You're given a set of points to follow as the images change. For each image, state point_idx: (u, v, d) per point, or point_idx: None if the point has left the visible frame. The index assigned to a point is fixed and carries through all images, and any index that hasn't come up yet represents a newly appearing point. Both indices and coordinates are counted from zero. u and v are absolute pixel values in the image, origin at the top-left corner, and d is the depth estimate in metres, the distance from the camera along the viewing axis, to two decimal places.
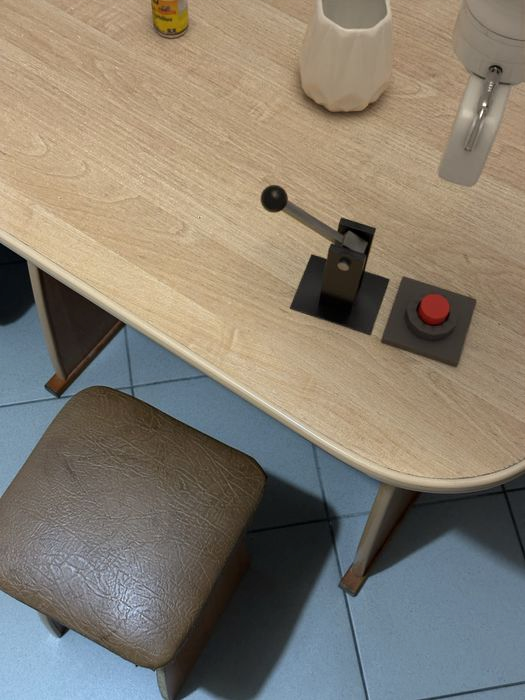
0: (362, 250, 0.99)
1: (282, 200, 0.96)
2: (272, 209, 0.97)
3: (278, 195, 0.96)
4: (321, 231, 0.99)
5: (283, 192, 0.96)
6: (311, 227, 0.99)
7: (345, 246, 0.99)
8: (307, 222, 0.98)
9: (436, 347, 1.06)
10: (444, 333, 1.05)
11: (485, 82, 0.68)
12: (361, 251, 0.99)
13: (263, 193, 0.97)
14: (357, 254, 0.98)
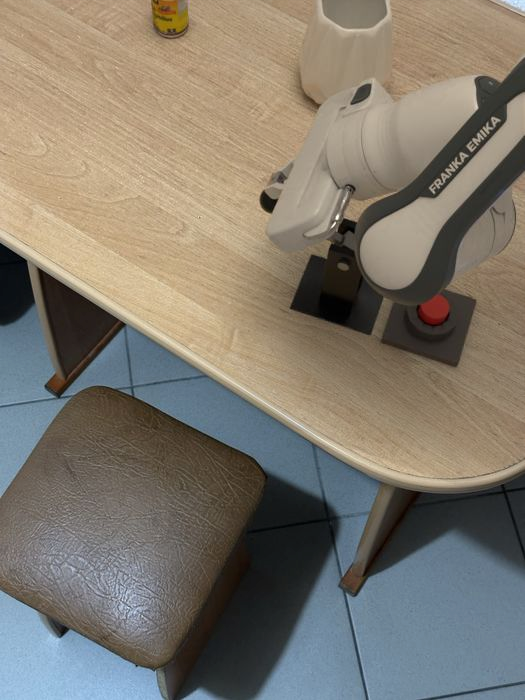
0: None
1: None
2: (271, 210, 0.97)
3: None
4: None
5: None
6: None
7: (345, 246, 0.99)
8: None
9: (436, 347, 1.06)
10: (444, 333, 1.05)
11: (343, 198, 0.83)
12: None
13: (262, 194, 0.97)
14: None
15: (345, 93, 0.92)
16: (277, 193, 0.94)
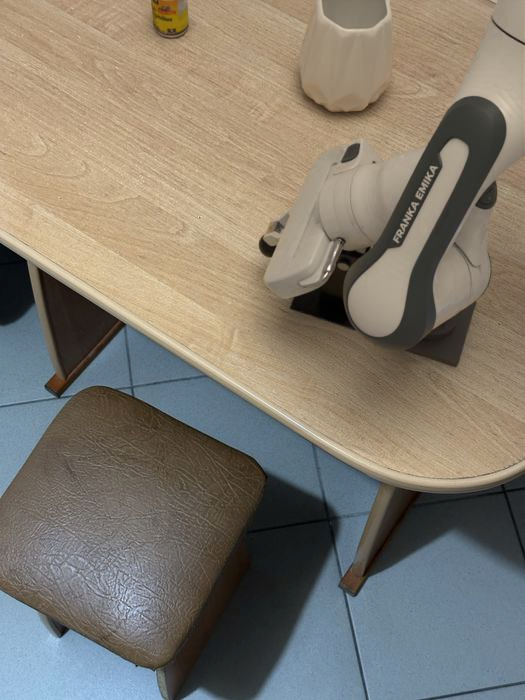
0: None
1: None
2: (268, 253, 1.05)
3: None
4: None
5: None
6: None
7: None
8: None
9: (436, 347, 1.06)
10: (444, 333, 1.05)
11: (334, 250, 0.91)
12: None
13: None
14: (357, 254, 0.98)
15: (336, 150, 1.00)
16: (274, 241, 1.02)
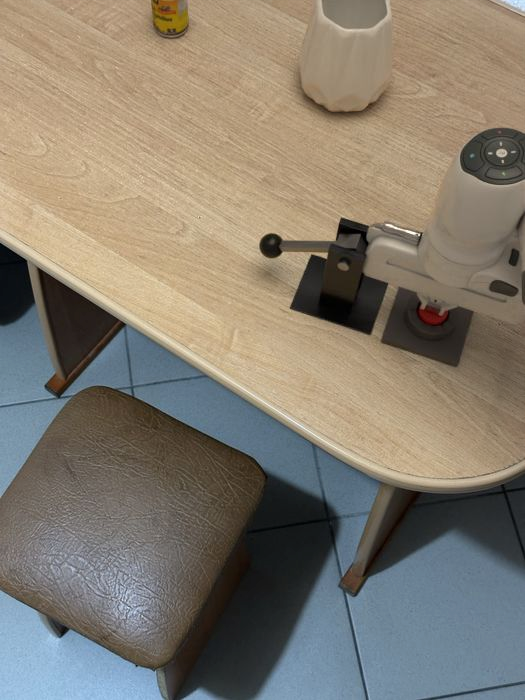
0: (354, 243, 0.99)
1: (270, 242, 1.04)
2: (269, 254, 1.05)
3: (265, 240, 1.05)
4: (317, 248, 1.02)
5: (270, 235, 1.05)
6: (308, 250, 1.03)
7: None
8: (302, 248, 1.03)
9: (436, 347, 1.06)
10: (444, 333, 1.05)
11: (407, 228, 0.94)
12: (354, 244, 0.99)
13: None
14: (357, 254, 0.98)
15: None
16: None
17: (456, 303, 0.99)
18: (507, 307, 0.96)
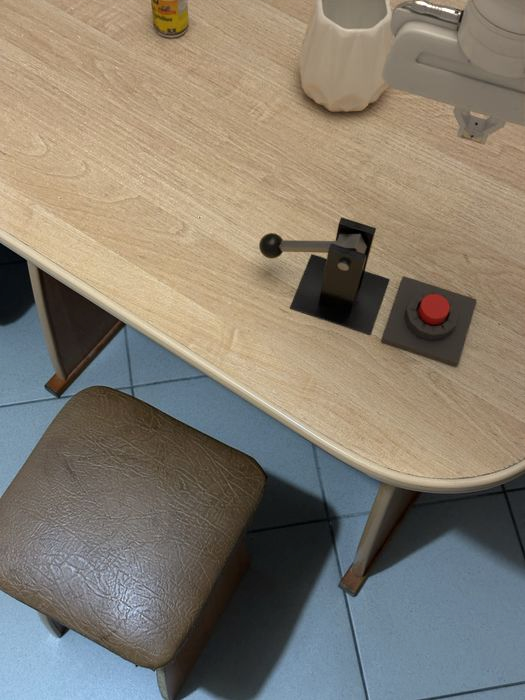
0: (354, 243, 0.99)
1: (270, 242, 1.04)
2: (269, 254, 1.05)
3: (265, 240, 1.05)
4: (317, 248, 1.02)
5: (270, 235, 1.05)
6: (308, 250, 1.03)
7: None
8: (302, 248, 1.03)
9: (436, 347, 1.06)
10: (444, 333, 1.05)
11: None
12: (354, 244, 0.99)
13: None
14: (357, 254, 0.98)
15: None
16: None
17: (505, 117, 0.78)
18: None
